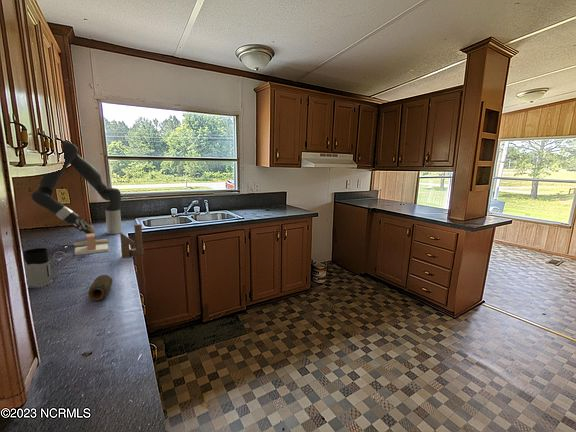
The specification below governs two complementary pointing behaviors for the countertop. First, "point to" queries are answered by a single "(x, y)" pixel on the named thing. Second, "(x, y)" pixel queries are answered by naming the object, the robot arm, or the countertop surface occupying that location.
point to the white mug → (38, 266)
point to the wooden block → (127, 241)
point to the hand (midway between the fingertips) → (91, 232)
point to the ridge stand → (91, 246)
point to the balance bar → (91, 228)
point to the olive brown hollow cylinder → (100, 287)
